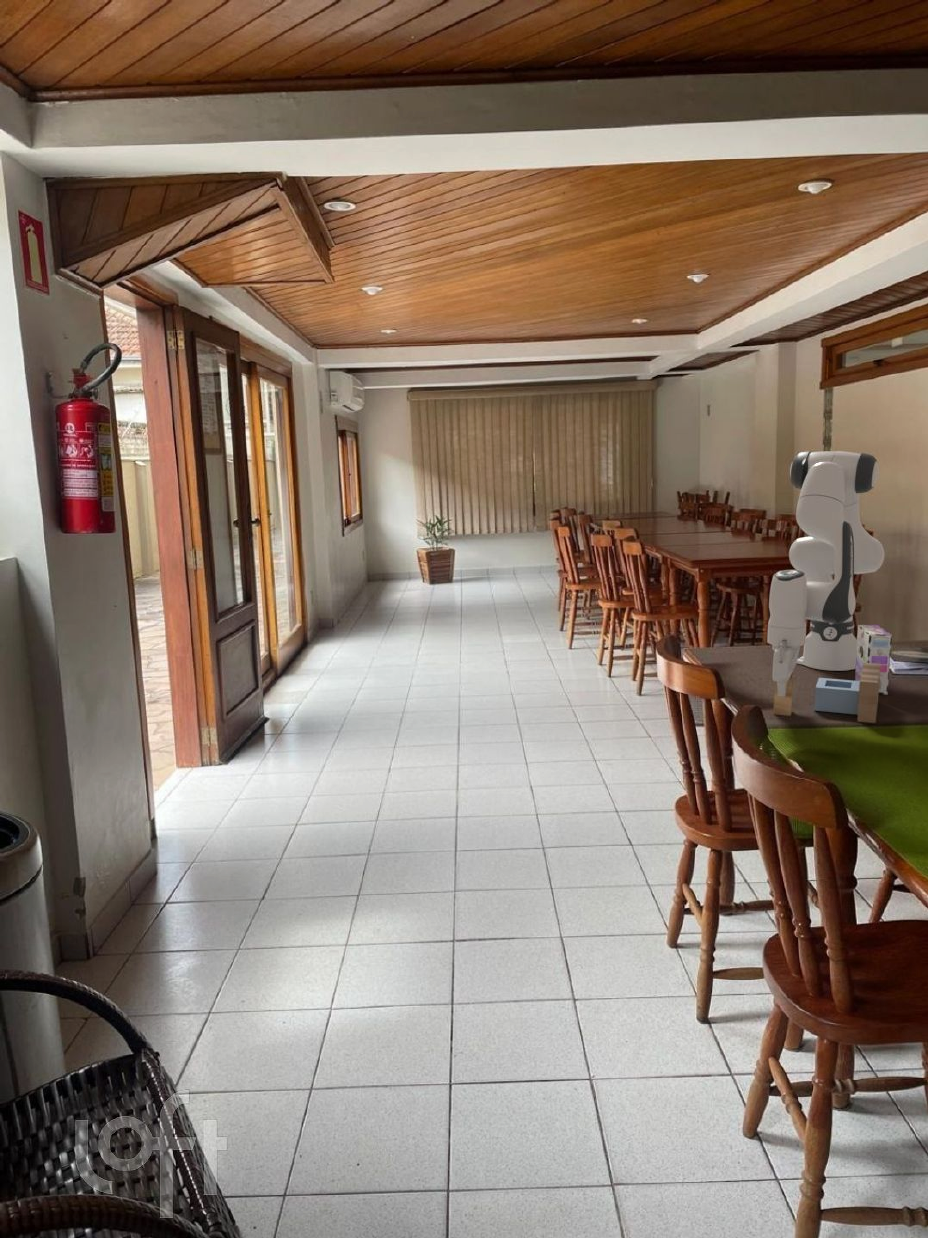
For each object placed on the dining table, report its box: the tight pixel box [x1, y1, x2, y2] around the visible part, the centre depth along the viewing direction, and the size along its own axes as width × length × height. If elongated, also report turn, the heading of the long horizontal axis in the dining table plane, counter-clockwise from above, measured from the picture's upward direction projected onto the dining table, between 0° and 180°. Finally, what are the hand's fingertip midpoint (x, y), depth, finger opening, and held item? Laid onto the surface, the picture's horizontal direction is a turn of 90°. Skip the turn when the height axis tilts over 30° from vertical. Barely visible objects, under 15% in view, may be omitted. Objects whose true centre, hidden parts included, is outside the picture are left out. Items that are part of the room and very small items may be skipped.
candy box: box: [854, 624, 893, 696], centre depth 243 cm, size 14×6×16 cm, turn 168°
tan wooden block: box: [772, 672, 795, 717], centre depth 224 cm, size 4×4×10 cm
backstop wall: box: [856, 662, 880, 724], centre depth 223 cm, size 20×4×10 cm, turn 154°
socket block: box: [814, 677, 860, 716], centre depth 227 cm, size 10×10×6 cm
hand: (784, 690), depth 224 cm, fingers open, 8 cm apart
